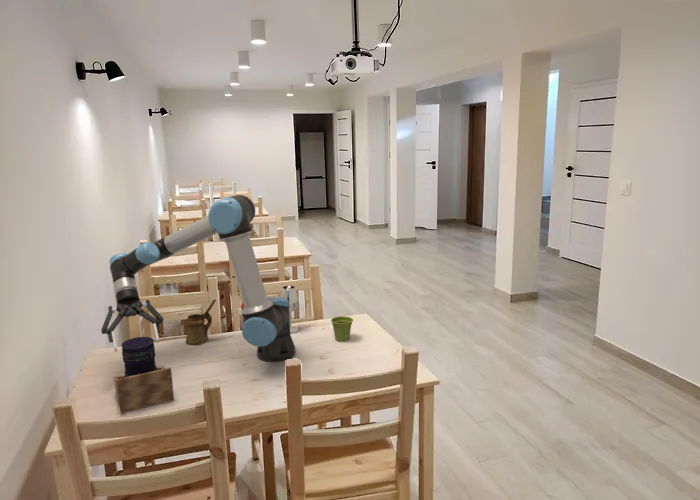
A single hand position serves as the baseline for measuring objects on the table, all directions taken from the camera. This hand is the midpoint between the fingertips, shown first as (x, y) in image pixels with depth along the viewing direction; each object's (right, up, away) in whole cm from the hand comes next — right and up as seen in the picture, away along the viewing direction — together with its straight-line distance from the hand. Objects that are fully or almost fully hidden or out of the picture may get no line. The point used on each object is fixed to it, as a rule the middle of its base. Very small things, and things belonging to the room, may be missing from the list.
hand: (137, 345), depth 172 cm
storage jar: (+5, -12, -8) cm, 15 cm away
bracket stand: (+5, -15, -7) cm, 18 cm away
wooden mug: (+11, -6, +40) cm, 42 cm away
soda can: (+30, -4, +48) cm, 57 cm away
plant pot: (+70, -5, +39) cm, 81 cm away
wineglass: (+47, -3, +51) cm, 69 cm away
